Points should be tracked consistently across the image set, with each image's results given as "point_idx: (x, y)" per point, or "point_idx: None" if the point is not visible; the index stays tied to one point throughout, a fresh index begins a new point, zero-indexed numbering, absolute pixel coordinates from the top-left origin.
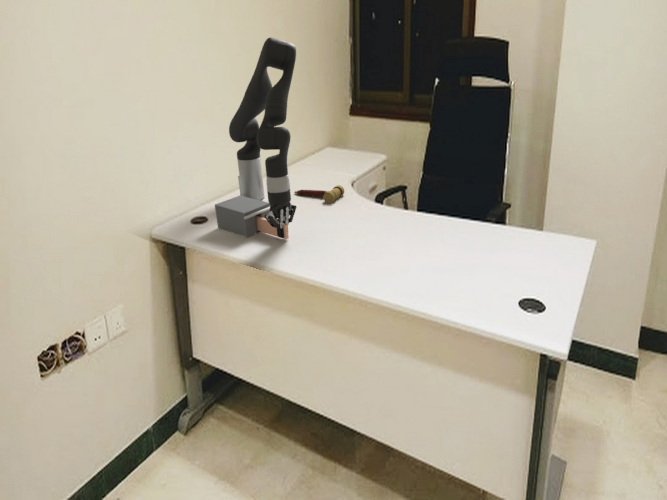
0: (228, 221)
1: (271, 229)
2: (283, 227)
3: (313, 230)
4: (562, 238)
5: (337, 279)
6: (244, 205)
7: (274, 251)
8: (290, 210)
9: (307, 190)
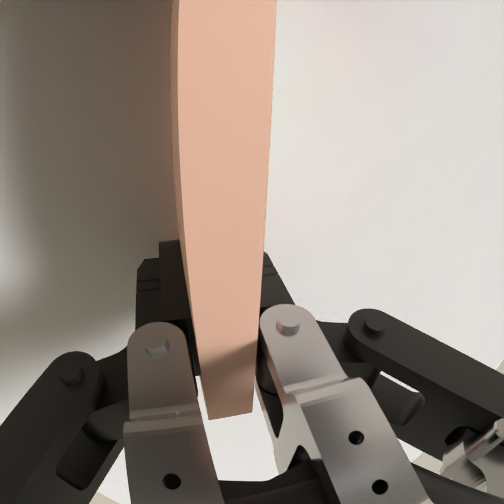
0: None
1: (173, 117)
2: (201, 381)
3: (417, 274)
4: (413, 458)
5: (128, 498)
6: None
7: (28, 350)
8: (445, 457)
9: None
